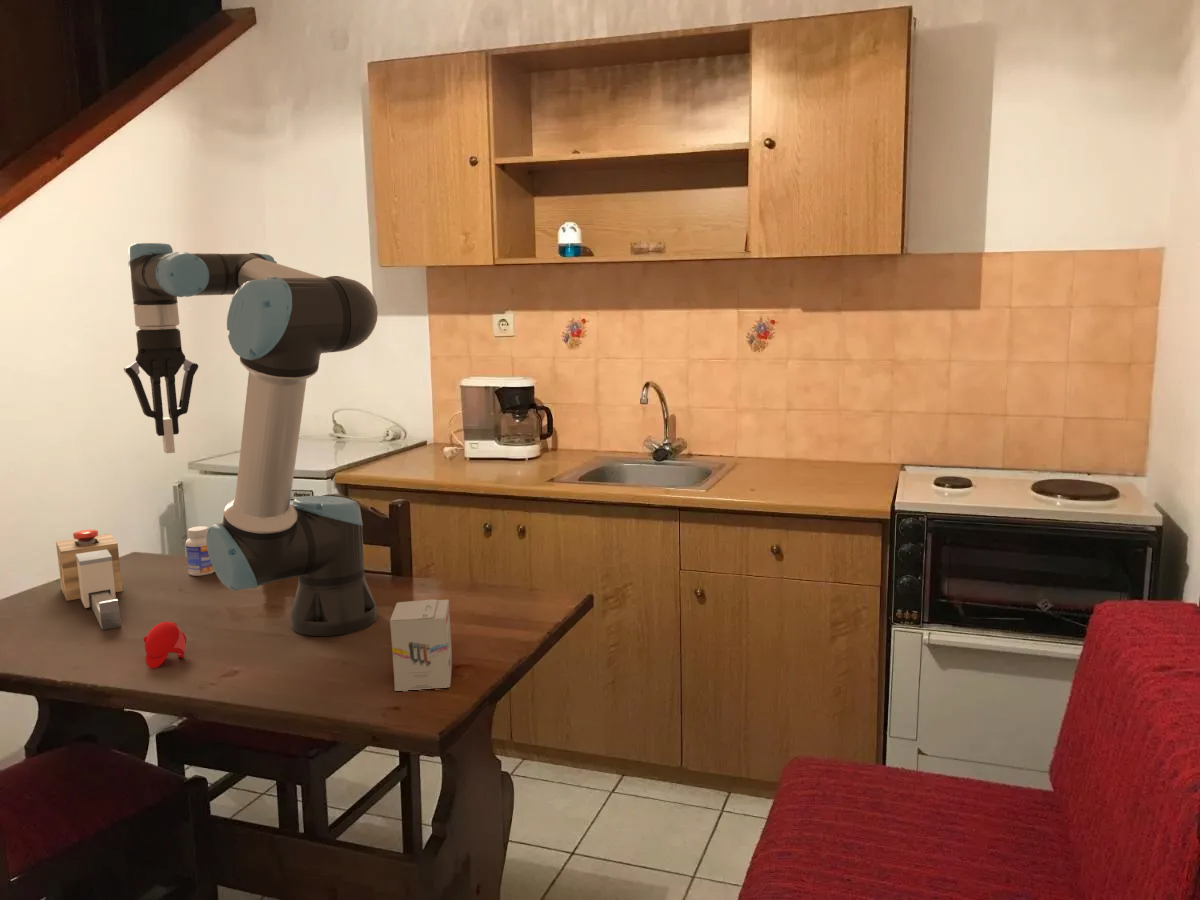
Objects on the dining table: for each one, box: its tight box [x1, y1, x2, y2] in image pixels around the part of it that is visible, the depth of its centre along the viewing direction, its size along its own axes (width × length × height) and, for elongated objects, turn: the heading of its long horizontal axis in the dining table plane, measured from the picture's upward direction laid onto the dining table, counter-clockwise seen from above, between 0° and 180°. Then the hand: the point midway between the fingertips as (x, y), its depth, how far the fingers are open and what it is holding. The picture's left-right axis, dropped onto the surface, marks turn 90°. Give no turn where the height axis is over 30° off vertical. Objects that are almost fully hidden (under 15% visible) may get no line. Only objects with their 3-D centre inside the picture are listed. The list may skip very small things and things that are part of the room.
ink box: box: [389, 598, 453, 692], centre depth 150 cm, size 9×9×12 cm
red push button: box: [72, 529, 99, 546], centre depth 194 cm, size 4×4×5 cm
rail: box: [88, 590, 122, 631], centre depth 183 cm, size 22×3×5 cm, turn 34°
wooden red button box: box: [55, 533, 123, 601], centre depth 195 cm, size 9×10×10 cm
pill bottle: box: [185, 525, 215, 577], centre depth 206 cm, size 5×5×10 cm
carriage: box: [76, 549, 117, 609], centre depth 187 cm, size 6×6×9 cm
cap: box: [142, 621, 187, 669], centre depth 159 cm, size 8×6×6 cm
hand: (169, 451), depth 184 cm, fingers closed
